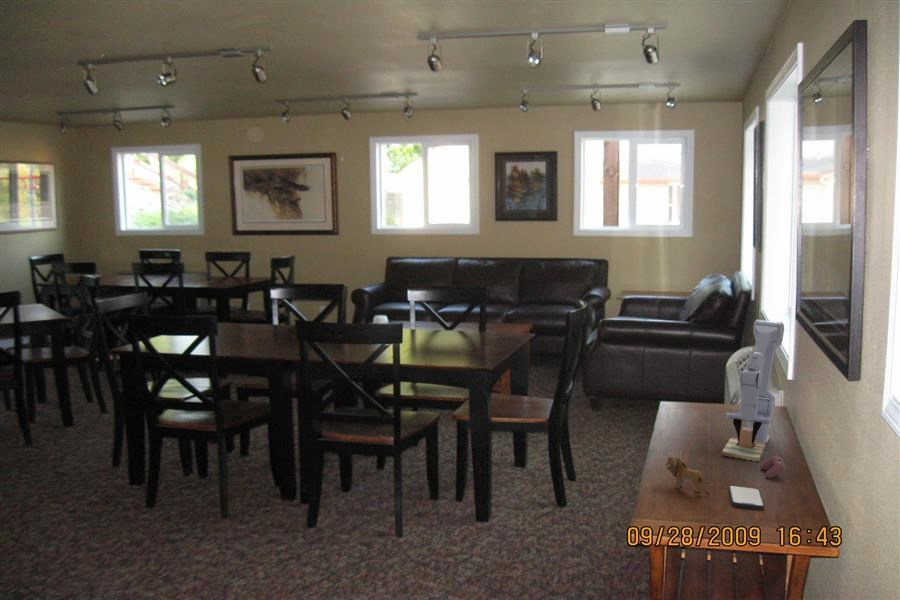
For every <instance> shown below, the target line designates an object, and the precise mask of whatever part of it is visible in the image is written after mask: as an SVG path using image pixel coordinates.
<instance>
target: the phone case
mask: <svg viewBox="0 0 900 600" xmlns="http://www.w3.org/2000/svg"><path fill="white" fill-rule="evenodd" d="M728 492H729V497H730V502H731V506H733V507H734V508H740V509H741V508H742V509H750V510H757V511H758V510H759V511H763V510H765V503H764V500H763V498H762V493H761V491H760V490H759V488H752V487H744V486H735V485H731V486H729V487H728Z"/></svg>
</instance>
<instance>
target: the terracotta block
mask: <svg viewBox="0 0 900 600" xmlns="http://www.w3.org/2000/svg"><path fill="white" fill-rule="evenodd" d="M752 436H753V429H751V428H747V427H742V426H741V429H740V440H739V445H738V446H744V447H751V448H753V447H752V444H753V443H752Z"/></svg>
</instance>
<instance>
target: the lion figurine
mask: <svg viewBox="0 0 900 600" xmlns="http://www.w3.org/2000/svg"><path fill="white" fill-rule="evenodd" d="M664 466H665V468H666V471H667V470H668V472H670V473H671V475H672V476H673V477H674V478H676V479H675V480H676V485H675V486H674V489H679V488H680V487H683V486H684V483H685V482H684V481H687V482H692V485H693V486H694V487H695V491H696V492H697V493H696V496H697V497H701V496H702V494H703V493H702V489H703V492H704V493H705V494H706V495H707V496H710V495H711V493H709V492H708V491H707V490H706V488H705V484H704V479H703V474H702V473H701V472H700V471H699V470H695V469H691V468H688V466H687V465H686V463H685V462H684V461H682V460H681V459H680V458H678V457H677V456H674V455H671V456H668V457H667V462H666V463H665V464H664Z"/></svg>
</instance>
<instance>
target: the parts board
mask: <svg viewBox="0 0 900 600" xmlns="http://www.w3.org/2000/svg"><path fill="white" fill-rule="evenodd" d="M766 444H767V443H763V442H756V441H754V443H753V444H752V448H751V447H744V446H739V441H738V438H737V437H736V438H734V437H730V438H729V439H728V441H727V443H726V444H725V447H724V448H723V449H722V451H721V456H722V455H726V456H731V457H736V458H735V459H737V458H742V459H741V460H743V459H746V460H745V461H750V460H752V461H751V462H756V461H759V462H760V460H761V458H762V456H763V454H764V451H765V449H766ZM731 457H730V458H731Z"/></svg>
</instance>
